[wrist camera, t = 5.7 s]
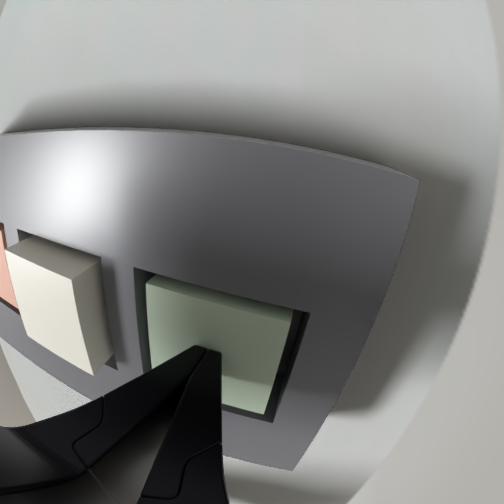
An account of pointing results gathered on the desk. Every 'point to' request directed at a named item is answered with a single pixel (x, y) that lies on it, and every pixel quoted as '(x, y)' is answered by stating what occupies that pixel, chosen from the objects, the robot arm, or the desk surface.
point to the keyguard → (215, 252)
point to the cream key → (62, 300)
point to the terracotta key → (5, 272)
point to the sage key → (219, 335)
